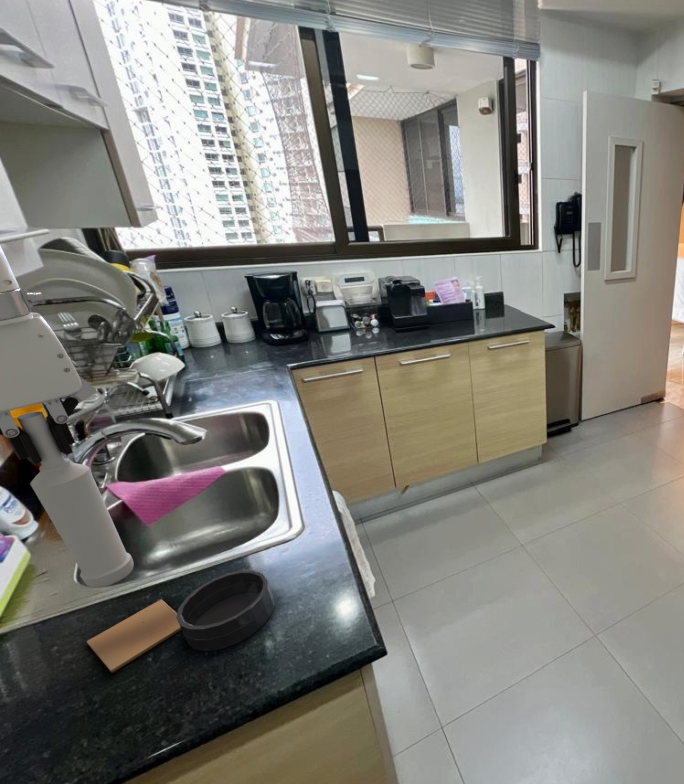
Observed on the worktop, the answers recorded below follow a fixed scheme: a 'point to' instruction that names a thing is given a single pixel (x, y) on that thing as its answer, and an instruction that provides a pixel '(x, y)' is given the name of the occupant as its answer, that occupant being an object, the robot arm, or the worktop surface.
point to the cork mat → (135, 635)
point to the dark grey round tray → (226, 610)
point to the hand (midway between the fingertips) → (49, 454)
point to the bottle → (76, 509)
